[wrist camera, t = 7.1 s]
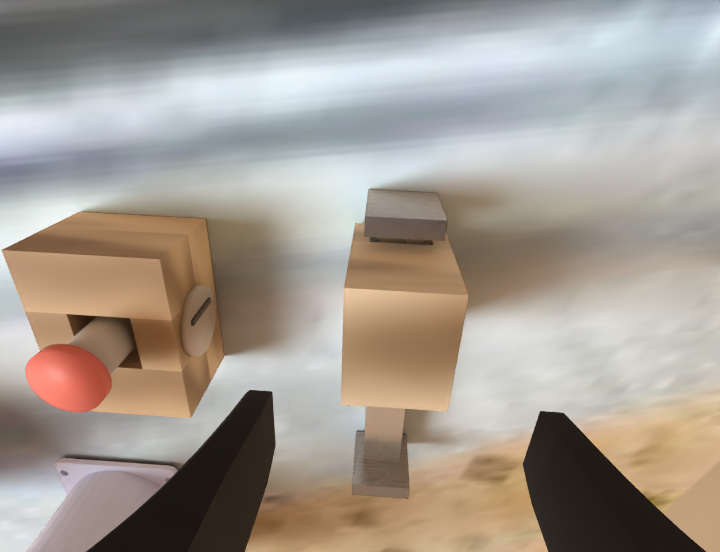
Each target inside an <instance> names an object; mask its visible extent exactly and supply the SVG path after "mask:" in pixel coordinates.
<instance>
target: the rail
mask: <svg viewBox="0 0 720 552" xmlns="http://www.w3.org/2000/svg"><path fill="white" fill-rule="evenodd" d="M447 222H448V220H447V218H446V215H445V213H444V210H443V208H442V205H441V203H440V200H439V198H438V195H437V193H428V192H409V191H390V190H371V189H368V197H367V205H366V213H365V229H364V237H377V242H382V243H400V244H417V245H425V240H434V241H445V236H446V229H447ZM404 416H405V409H403V408H388V407H373V406H366V418H365V432H363V431H356V443H355V456H354V469H353V483H352V495H365V496H379V497H392V498H406V499H408V496H409V472H408V455H407V438H406V434H402V433H403V424H404Z"/></svg>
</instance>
